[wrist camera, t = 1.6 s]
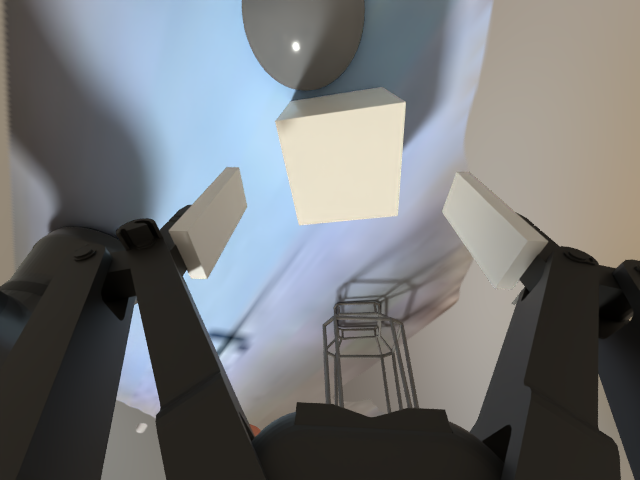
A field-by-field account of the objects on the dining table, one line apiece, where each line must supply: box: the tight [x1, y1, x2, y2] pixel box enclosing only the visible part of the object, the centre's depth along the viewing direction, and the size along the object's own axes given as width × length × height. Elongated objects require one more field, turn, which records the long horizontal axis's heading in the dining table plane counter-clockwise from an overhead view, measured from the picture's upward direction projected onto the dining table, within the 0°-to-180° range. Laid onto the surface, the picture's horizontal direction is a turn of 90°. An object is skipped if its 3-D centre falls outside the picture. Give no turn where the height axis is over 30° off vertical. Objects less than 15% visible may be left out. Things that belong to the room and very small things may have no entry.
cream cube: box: [275, 87, 406, 225], centre depth 23 cm, size 9×9×9 cm
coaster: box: [242, 0, 365, 91], centre depth 20 cm, size 10×10×1 cm
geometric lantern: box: [323, 302, 419, 413], centre depth 32 cm, size 16×16×35 cm
